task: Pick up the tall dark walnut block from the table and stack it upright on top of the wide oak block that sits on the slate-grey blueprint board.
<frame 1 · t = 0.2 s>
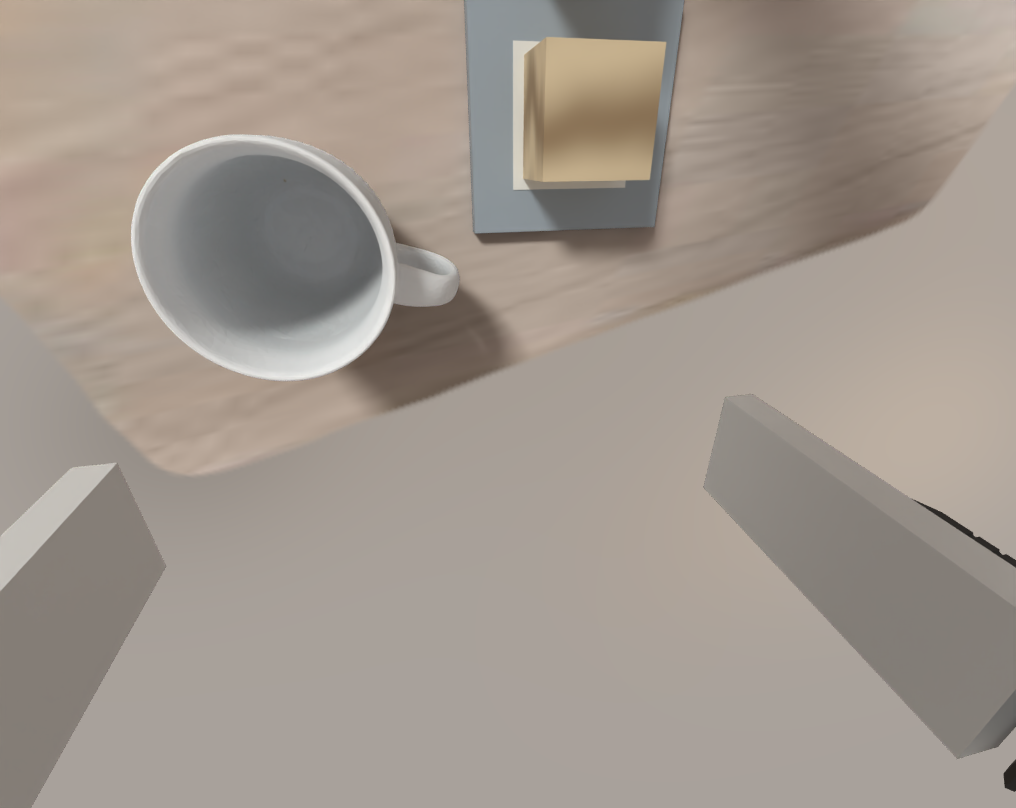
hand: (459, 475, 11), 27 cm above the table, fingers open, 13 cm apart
mug: (331, 236, 33), on the table
oak block: (573, 120, 32), point 1 cm above the table, touching blueprint board
blueprint board: (568, 121, 33), on the table
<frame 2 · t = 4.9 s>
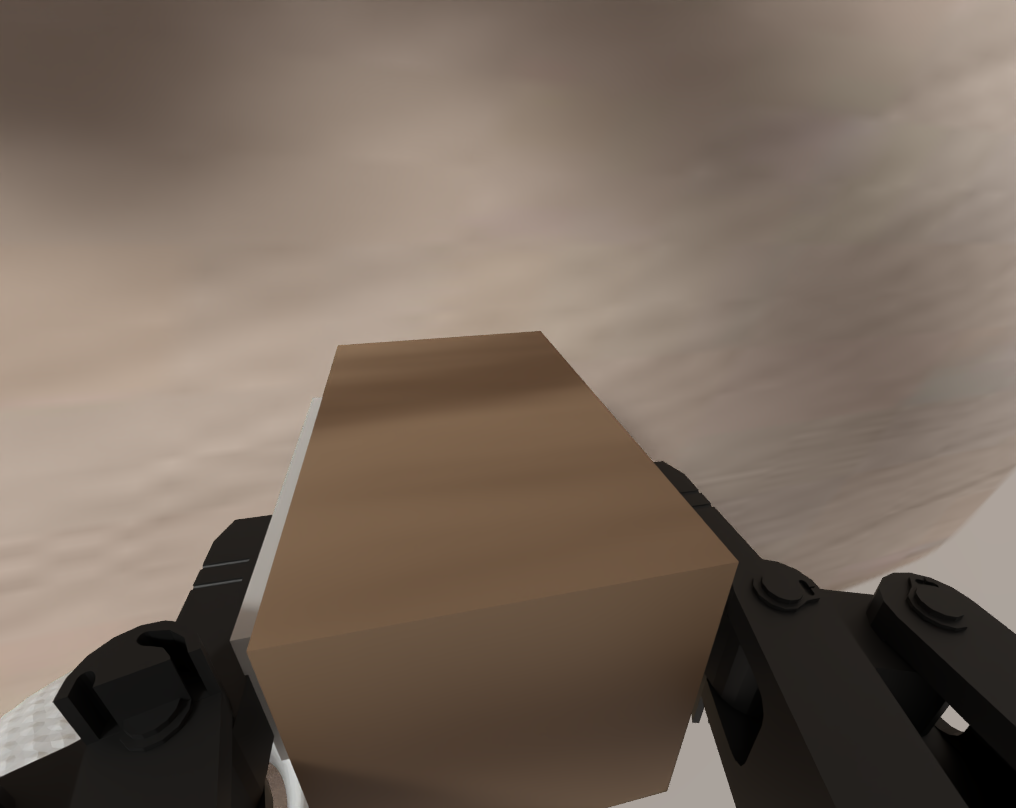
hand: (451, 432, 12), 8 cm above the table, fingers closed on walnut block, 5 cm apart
mug: (163, 690, 25), on the table
walnut block: (449, 425, 13), point 8 cm above the table, touching gripper
when the fingers open (7 cm above the table, at t = 8.2 s): walnut block stays where it is, resting on oak block.
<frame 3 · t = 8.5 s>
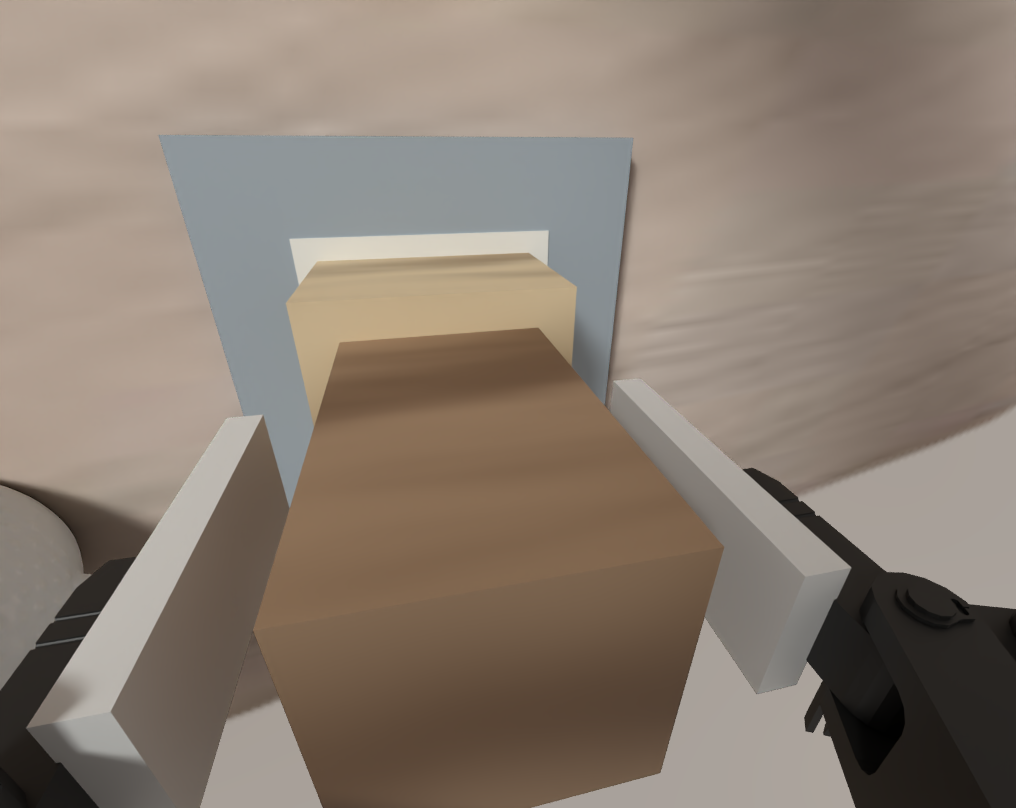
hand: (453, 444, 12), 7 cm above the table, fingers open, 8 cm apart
mug: (14, 541, 19), on the table
walnut block: (449, 420, 13), point 6 cm above the table, touching oak block
oak block: (435, 354, 17), point 1 cm above the table, touching blueprint board, walnut block
blueprint board: (433, 344, 18), on the table
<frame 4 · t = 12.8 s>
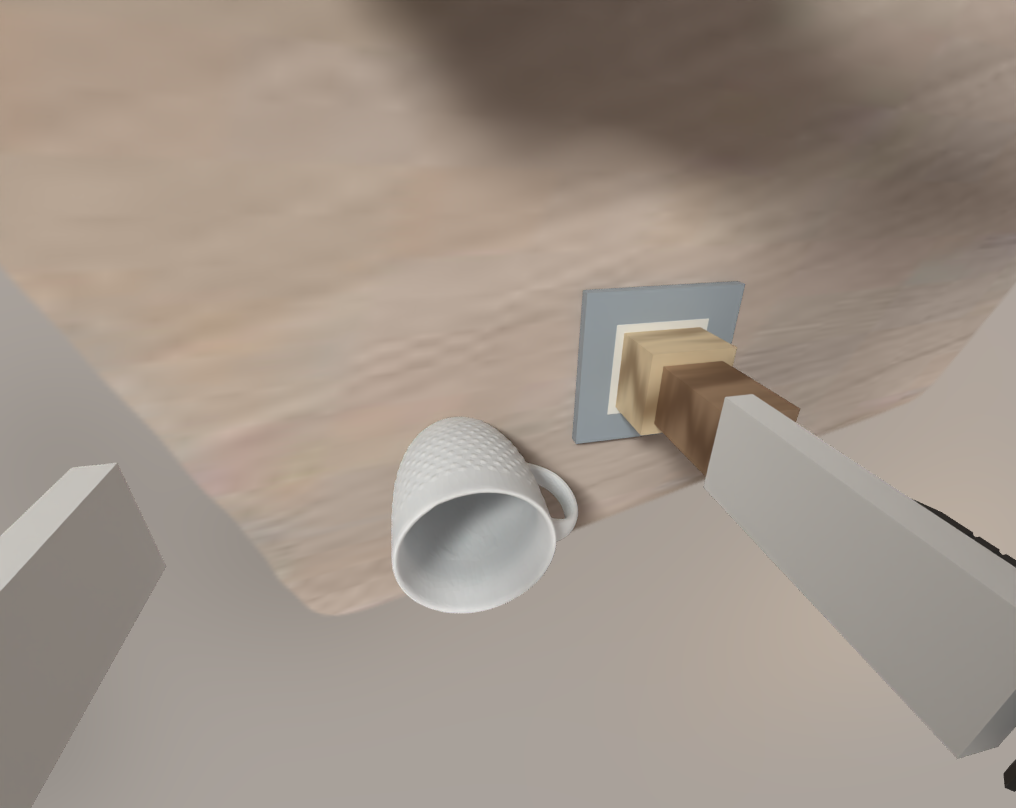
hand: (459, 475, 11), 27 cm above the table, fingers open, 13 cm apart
mug: (466, 449, 42), on the table
walnut block: (687, 392, 37), point 6 cm above the table, touching oak block
oak block: (656, 368, 41), point 1 cm above the table, touching blueprint board, walnut block
blueprint board: (651, 363, 42), on the table
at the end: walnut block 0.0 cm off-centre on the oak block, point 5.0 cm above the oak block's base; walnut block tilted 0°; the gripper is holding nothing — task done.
